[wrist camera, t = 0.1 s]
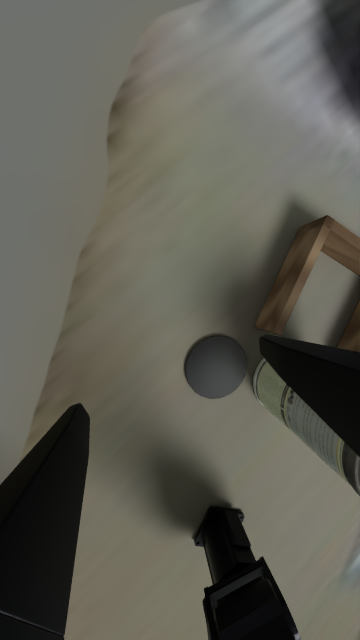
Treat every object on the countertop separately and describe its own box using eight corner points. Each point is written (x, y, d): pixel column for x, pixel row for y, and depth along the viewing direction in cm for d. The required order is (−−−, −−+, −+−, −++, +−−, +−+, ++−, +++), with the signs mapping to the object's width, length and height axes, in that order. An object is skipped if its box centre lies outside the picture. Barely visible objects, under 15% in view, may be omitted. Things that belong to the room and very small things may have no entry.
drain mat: (229, 404, 28) (231, 406, 27) (175, 386, 25) (175, 387, 25) (255, 349, 27) (256, 350, 27) (201, 326, 25) (202, 326, 25)
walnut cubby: (335, 363, 30) (363, 373, 26) (254, 326, 27) (273, 331, 23) (376, 278, 30) (411, 275, 26) (299, 227, 26) (327, 215, 22)
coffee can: (305, 337, 29) (453, 375, 15) (314, 395, 30) (455, 477, 17) (245, 359, 27) (350, 424, 13) (259, 419, 29) (363, 531, 15)
